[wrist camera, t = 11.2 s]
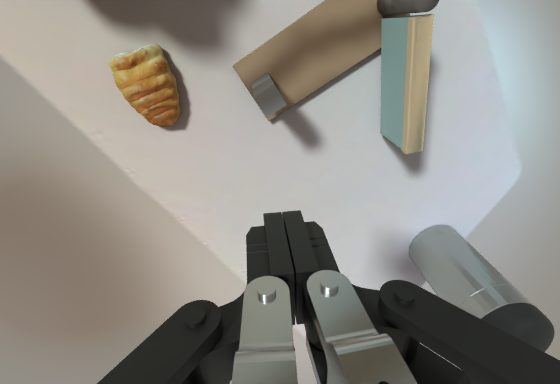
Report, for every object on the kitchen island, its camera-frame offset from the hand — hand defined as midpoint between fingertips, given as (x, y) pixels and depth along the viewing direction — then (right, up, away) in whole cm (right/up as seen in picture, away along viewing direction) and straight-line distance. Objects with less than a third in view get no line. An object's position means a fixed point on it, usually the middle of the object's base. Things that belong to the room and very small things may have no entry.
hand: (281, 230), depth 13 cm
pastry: (-16, +15, +26) cm, 34 cm away
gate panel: (+14, +16, +27) cm, 34 cm away
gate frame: (+5, +20, +25) cm, 33 cm away
